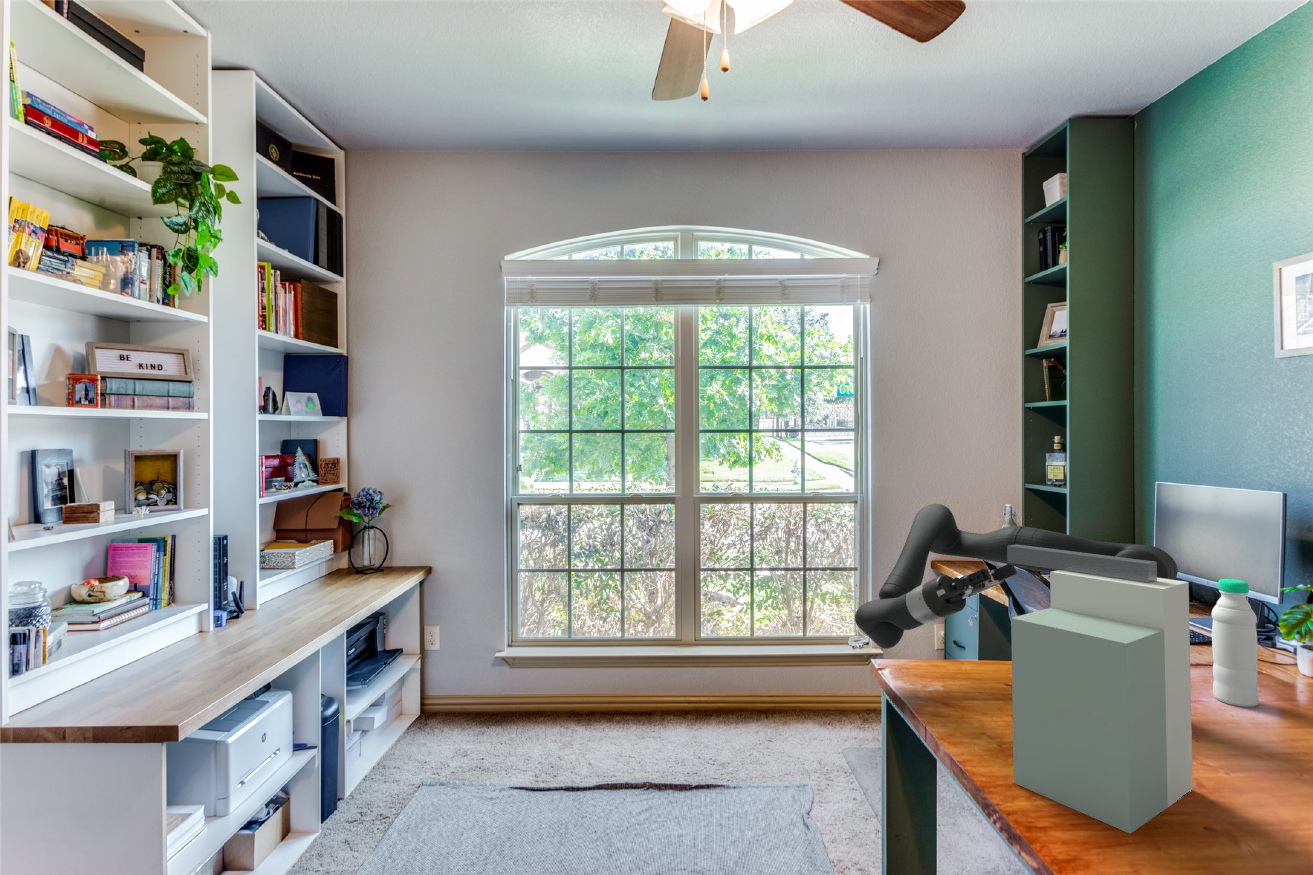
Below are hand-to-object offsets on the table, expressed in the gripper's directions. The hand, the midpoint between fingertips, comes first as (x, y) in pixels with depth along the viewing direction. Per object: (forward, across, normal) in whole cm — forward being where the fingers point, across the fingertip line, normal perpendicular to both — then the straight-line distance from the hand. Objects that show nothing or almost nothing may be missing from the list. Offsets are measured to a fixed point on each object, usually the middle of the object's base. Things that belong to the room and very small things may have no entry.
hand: (1001, 570), depth 121 cm
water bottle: (0, +54, +35) cm, 64 cm away
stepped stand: (+1, -6, +35) cm, 36 cm away
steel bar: (+12, 0, +5) cm, 13 cm away
